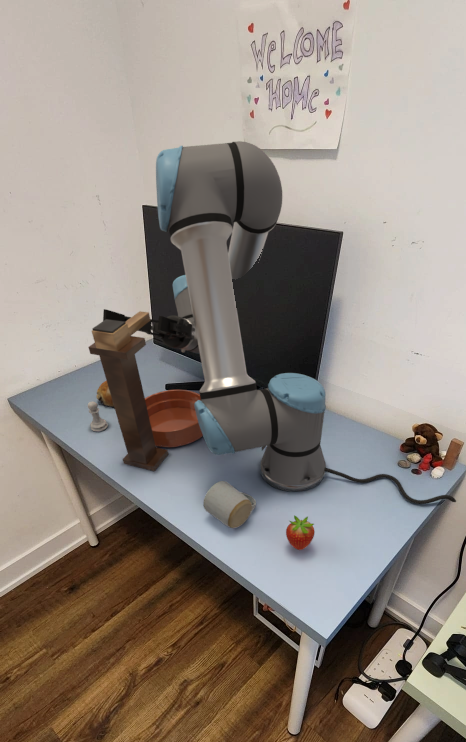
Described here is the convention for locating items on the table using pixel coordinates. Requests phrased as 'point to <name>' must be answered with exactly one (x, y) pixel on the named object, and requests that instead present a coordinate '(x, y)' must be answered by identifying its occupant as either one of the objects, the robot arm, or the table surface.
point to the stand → (130, 404)
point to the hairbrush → (118, 331)
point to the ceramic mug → (228, 504)
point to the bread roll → (104, 395)
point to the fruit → (300, 533)
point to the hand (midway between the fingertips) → (131, 319)
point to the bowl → (173, 417)
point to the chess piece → (96, 418)
